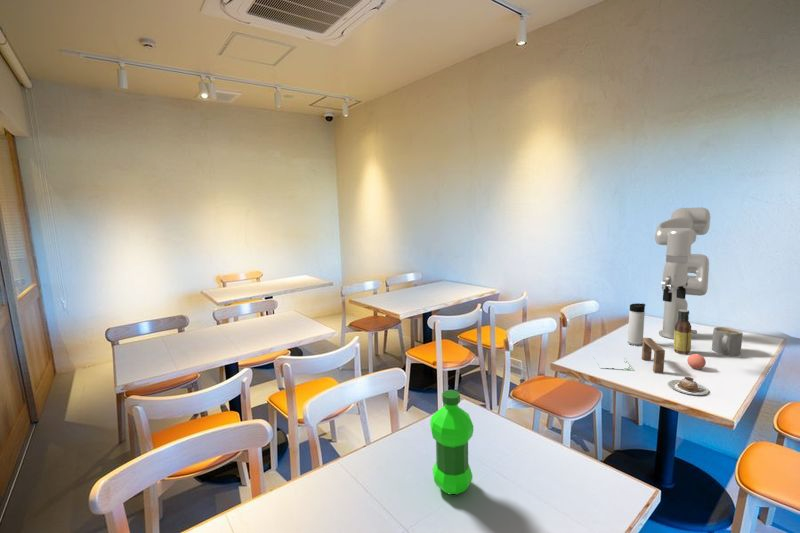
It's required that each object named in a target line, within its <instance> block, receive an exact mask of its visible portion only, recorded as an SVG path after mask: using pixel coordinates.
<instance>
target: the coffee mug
mask: <svg viewBox="0 0 800 533" xmlns="http://www.w3.org/2000/svg"><path fill="white" fill-rule="evenodd" d="M743 335H744V334H743V331H742V330H740V329H737V328H733V327H725V326H717V327H713V333H712V344H711V351H713V352H714V353H716V354H719V355H724V356H731V357H735V356H737V357H738V356H740V355H741V354H742V344H743V343H742V342H743Z"/></svg>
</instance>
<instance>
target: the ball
mask: <svg viewBox="0 0 800 533" xmlns="http://www.w3.org/2000/svg"><path fill="white" fill-rule="evenodd" d="M686 359H687V360H686V361H687V364H688V365H689V367H690V368H693V369H695V370H700V369H701V370H702V369H703V368H705V367H706V363H707V362H706V358H704V356H702V355H701V354H698V353H692V354H689V356H688V358H686Z"/></svg>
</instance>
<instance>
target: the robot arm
mask: <svg viewBox="0 0 800 533" xmlns="http://www.w3.org/2000/svg"><path fill="white" fill-rule="evenodd" d="M710 223H711V213H710V211H709V209H708V208H706V207H680V208H677V209H675V210H674V211H672V213H671V216H670V218H669V219H667V220H665V221H662V222H661V223H659V224H658V225H657V227H656V230H655V234H654V240H655V243H656V244H657V245H659V246H666V253H665V263H664V268H663V271H662V272H663V273H662V279H661V289H662V301H663V302H664V304H663V305H664V307H663V319H662V320H663V322H662V329H661V330H659V331H658V335H659V336H661V337H663V338H667V339H670V340H674V329H675V325H676V323H677V321H678V310H680V309H684V310H688V308H689V307H688V301H687V300H686V296H687V295H688V296H701V297H702V296H705V295H706V294H707V292H708V288H709V275H710V272H709V271H710V262H709V258H708V256H707V255H705V254H699V253H691V250H692V245H693V244H694V243H695V242H696V240H697V236H703V235H707V234H708V233H709V230H710V225H711V224H710ZM689 274H694V275H689ZM697 334H698V331H697V329H691V335H697Z"/></svg>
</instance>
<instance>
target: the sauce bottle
mask: <svg viewBox="0 0 800 533" xmlns="http://www.w3.org/2000/svg"><path fill="white" fill-rule="evenodd" d="M689 315H690V310H688V309H687V310H684V309H680V310H678V321H677V323H676V325H675V329H674V339H673V348H674V349H673V351H674V352H675V353H677V354H679V355H691V349H692V333H691V330H692V325H691V322H690V321H689V320H690V319H689Z"/></svg>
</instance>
